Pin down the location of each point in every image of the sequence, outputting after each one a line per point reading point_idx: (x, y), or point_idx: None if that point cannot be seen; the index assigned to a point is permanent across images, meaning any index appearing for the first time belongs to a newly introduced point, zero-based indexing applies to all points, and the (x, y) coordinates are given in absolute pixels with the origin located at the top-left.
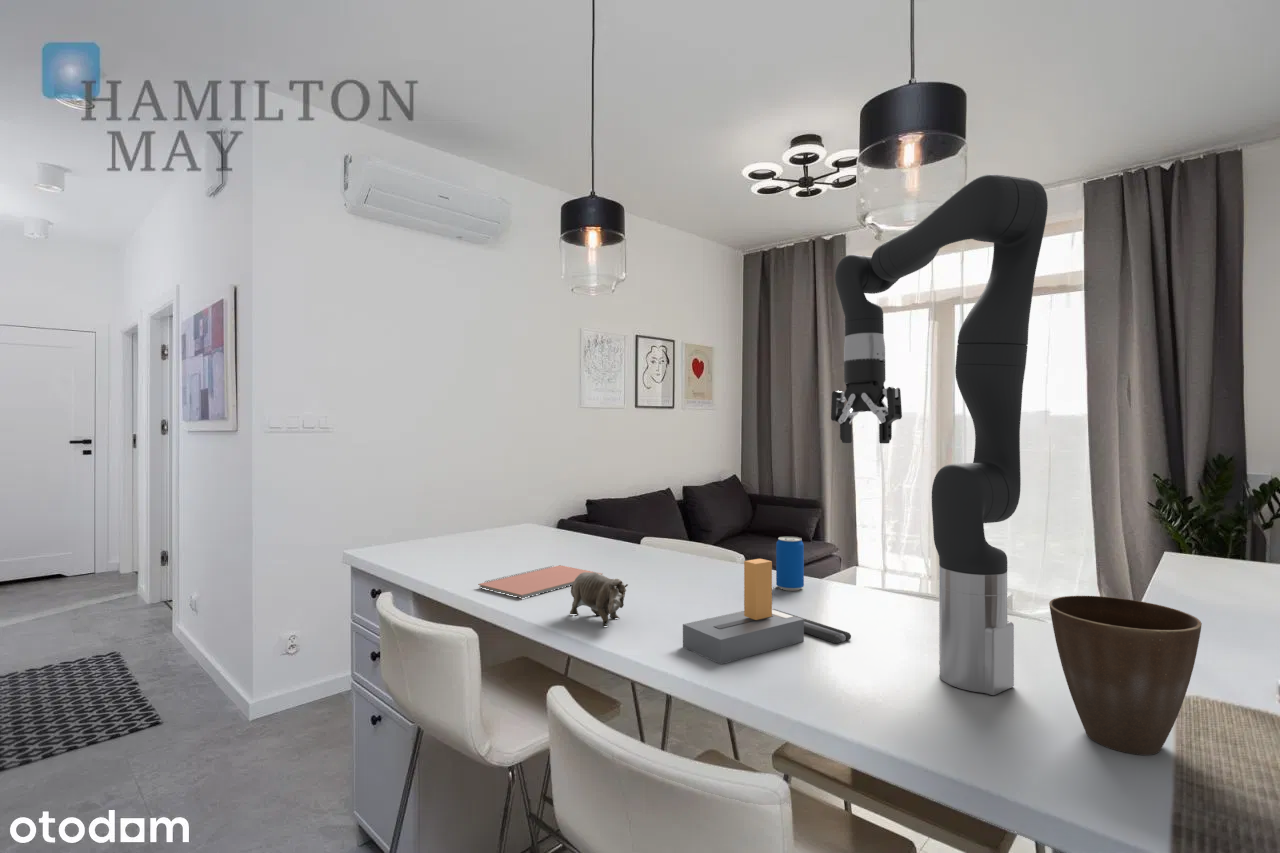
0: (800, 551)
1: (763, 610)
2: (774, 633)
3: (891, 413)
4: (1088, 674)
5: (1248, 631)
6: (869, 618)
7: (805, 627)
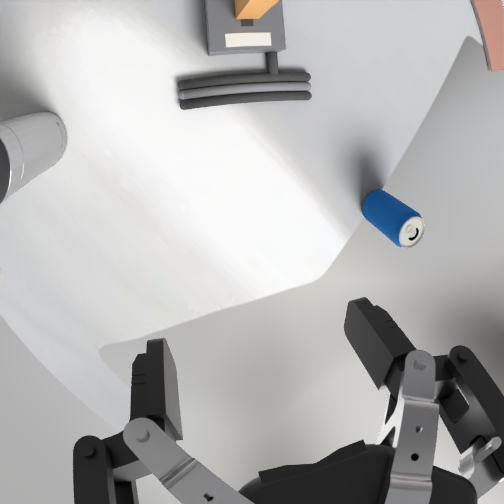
0: (388, 228)
1: (236, 2)
2: (206, 5)
3: (87, 463)
4: None
5: (95, 406)
6: (234, 193)
7: (230, 75)
